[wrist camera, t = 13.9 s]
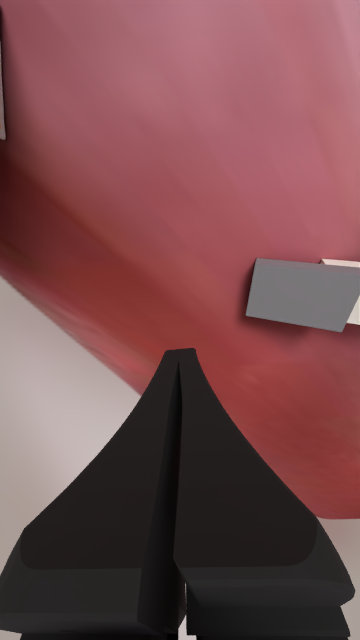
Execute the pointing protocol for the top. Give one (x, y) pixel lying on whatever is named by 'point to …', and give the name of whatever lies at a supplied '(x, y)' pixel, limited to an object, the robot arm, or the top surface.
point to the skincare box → (1, 106)
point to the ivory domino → (356, 316)
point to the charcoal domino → (304, 293)
